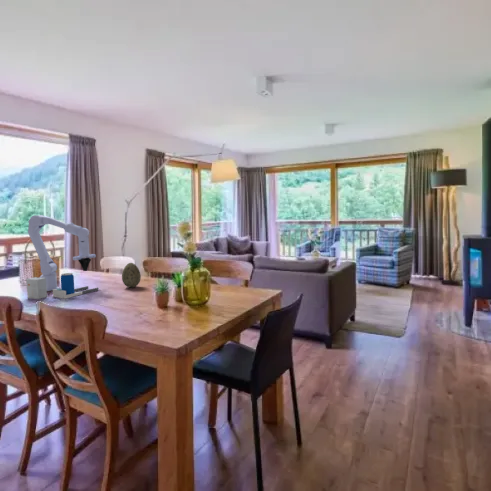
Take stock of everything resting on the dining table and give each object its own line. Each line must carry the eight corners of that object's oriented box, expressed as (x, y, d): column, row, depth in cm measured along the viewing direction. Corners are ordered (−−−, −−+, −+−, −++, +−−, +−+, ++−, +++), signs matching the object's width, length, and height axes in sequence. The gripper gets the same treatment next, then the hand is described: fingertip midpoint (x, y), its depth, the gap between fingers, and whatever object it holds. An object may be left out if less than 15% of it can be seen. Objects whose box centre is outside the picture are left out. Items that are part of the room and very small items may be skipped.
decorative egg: (133, 284, 228) (132, 261, 227) (144, 286, 222) (143, 262, 221) (118, 288, 219) (117, 263, 218) (130, 290, 213) (129, 264, 212)
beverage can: (64, 294, 204) (62, 273, 203) (76, 293, 205) (75, 272, 204) (59, 297, 198) (58, 275, 197) (72, 296, 199) (71, 274, 198)
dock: (53, 296, 199) (52, 288, 199) (87, 288, 219) (86, 281, 218) (64, 298, 195) (64, 290, 194) (98, 290, 214) (98, 282, 214)
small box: (47, 296, 199) (46, 277, 198) (38, 299, 194) (37, 279, 192) (36, 295, 201) (35, 277, 200) (27, 298, 196) (25, 278, 195)
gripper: (78, 249, 210) (79, 273, 211) (98, 247, 222) (99, 269, 224) (69, 249, 213) (71, 272, 214) (90, 246, 226) (91, 268, 227)
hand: (85, 270), depth 219 cm, fingers closed
